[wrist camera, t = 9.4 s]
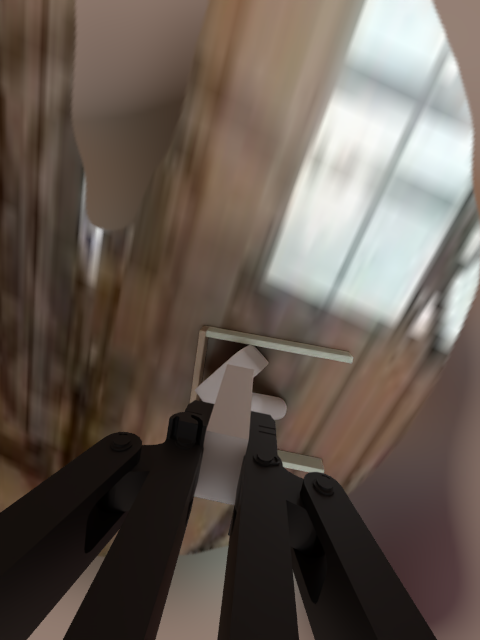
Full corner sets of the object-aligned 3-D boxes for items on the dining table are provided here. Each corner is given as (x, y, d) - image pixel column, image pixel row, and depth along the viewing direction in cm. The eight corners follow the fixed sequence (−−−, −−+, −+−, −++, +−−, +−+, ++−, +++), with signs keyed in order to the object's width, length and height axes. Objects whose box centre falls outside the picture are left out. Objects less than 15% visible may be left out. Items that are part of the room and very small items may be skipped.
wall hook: (262, 431, 44) (246, 464, 35) (217, 375, 46) (190, 392, 36) (305, 397, 43) (301, 422, 33) (257, 341, 44) (239, 349, 35)
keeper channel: (188, 436, 46) (183, 448, 43) (204, 325, 43) (199, 330, 40) (320, 463, 45) (323, 477, 42) (348, 351, 41) (354, 358, 38)
